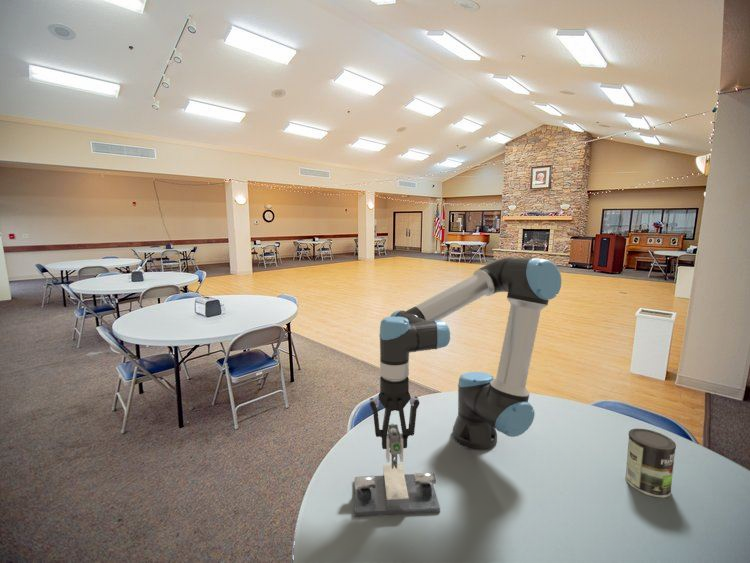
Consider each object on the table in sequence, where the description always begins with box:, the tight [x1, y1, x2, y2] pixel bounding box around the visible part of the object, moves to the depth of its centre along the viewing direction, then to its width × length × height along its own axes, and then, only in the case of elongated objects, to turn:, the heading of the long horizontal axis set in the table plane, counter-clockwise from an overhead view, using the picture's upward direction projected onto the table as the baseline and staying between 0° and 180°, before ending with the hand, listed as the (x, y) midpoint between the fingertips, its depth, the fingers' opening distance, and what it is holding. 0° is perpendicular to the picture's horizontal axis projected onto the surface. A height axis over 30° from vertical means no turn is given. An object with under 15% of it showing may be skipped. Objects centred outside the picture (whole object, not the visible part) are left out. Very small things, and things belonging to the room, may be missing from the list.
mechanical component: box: [387, 423, 402, 469], centre depth 92 cm, size 3×10×10 cm, turn 4°
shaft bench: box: [354, 463, 441, 517], centre depth 94 cm, size 22×13×6 cm, turn 93°
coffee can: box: [624, 428, 677, 499], centre depth 96 cm, size 10×10×14 cm
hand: (394, 458), depth 92 cm, fingers closed on mechanical component, 3 cm apart
